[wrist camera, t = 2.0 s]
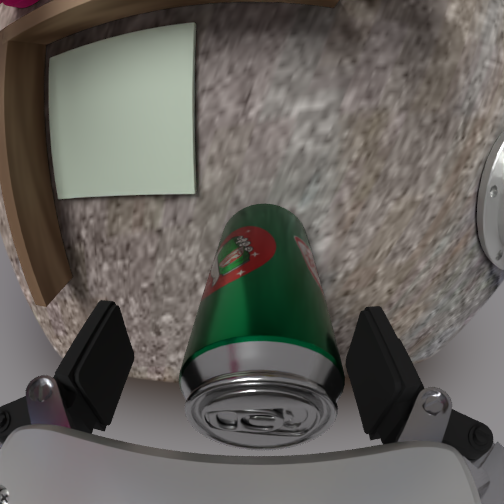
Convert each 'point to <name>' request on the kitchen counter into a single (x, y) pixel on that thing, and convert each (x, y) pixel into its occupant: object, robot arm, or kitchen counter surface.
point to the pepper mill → (19, 3)
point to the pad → (125, 115)
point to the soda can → (262, 339)
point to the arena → (33, 127)
